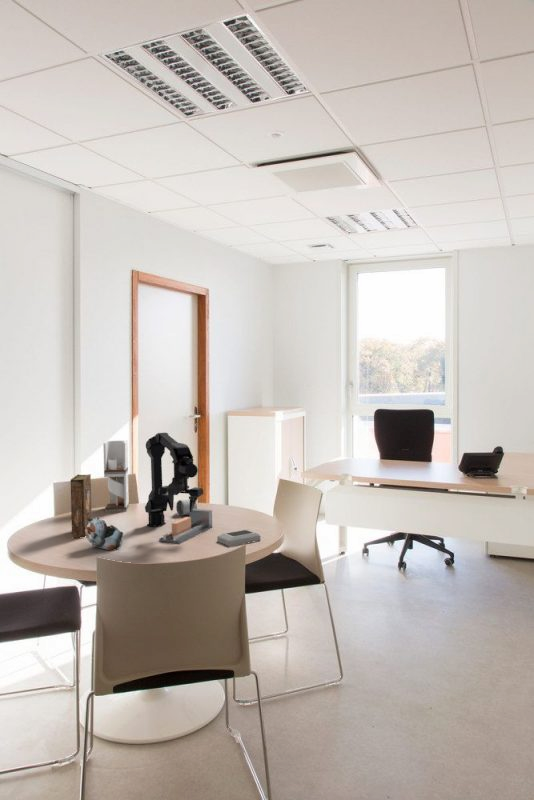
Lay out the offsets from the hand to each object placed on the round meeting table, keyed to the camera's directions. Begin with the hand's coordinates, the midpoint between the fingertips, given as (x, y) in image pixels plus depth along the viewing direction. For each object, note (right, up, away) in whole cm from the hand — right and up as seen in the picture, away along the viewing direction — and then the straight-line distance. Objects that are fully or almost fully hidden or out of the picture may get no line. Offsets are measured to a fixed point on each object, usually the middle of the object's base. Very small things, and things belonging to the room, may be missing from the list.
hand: (181, 511), depth 268 cm
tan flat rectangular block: (0, -10, +1) cm, 10 cm away
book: (-45, -11, +8) cm, 47 cm away
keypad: (+25, -12, -8) cm, 28 cm away
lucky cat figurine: (-29, -12, -15) cm, 35 cm away
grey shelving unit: (-41, -9, +57) cm, 71 cm away
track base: (+2, -11, +4) cm, 12 cm away
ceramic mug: (-4, -10, +44) cm, 45 cm away
